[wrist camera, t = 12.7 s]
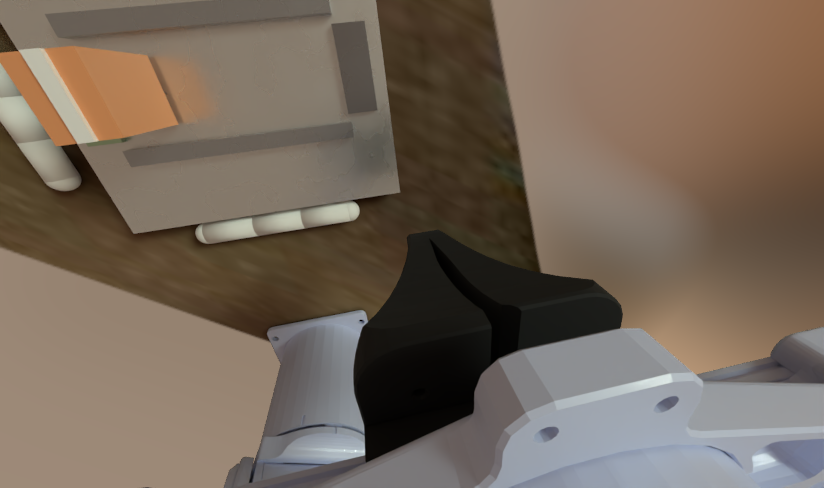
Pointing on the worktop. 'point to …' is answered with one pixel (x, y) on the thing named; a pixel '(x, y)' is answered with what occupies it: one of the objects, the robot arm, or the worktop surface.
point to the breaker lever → (89, 92)
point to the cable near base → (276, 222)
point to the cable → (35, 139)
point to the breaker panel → (235, 103)
